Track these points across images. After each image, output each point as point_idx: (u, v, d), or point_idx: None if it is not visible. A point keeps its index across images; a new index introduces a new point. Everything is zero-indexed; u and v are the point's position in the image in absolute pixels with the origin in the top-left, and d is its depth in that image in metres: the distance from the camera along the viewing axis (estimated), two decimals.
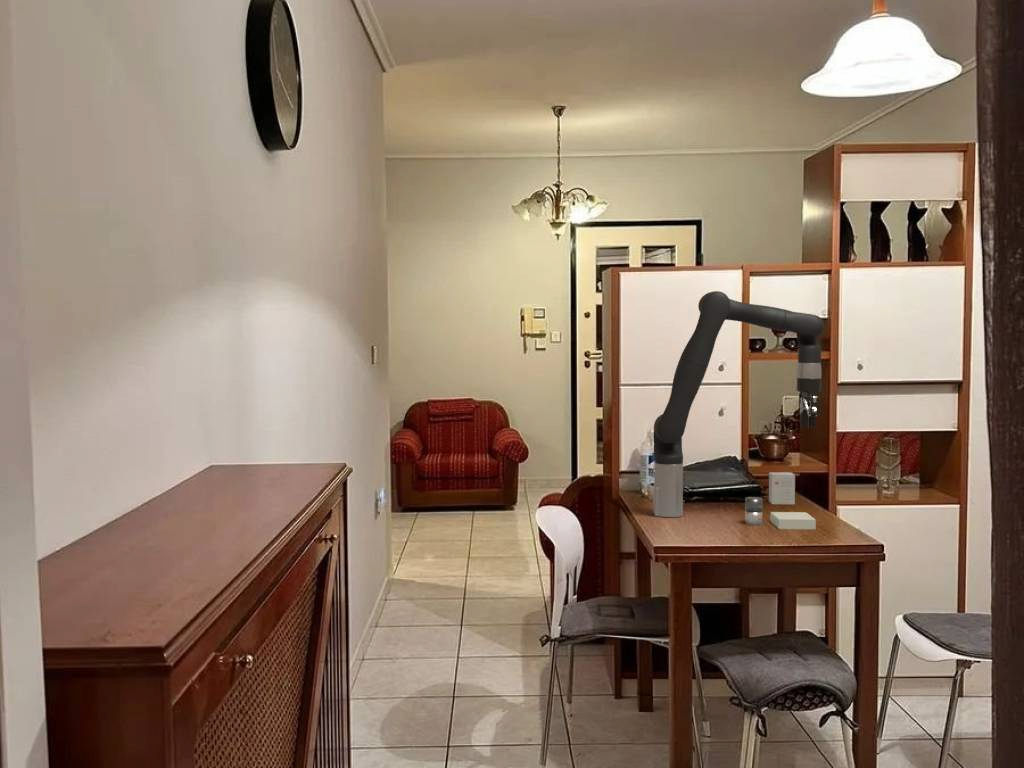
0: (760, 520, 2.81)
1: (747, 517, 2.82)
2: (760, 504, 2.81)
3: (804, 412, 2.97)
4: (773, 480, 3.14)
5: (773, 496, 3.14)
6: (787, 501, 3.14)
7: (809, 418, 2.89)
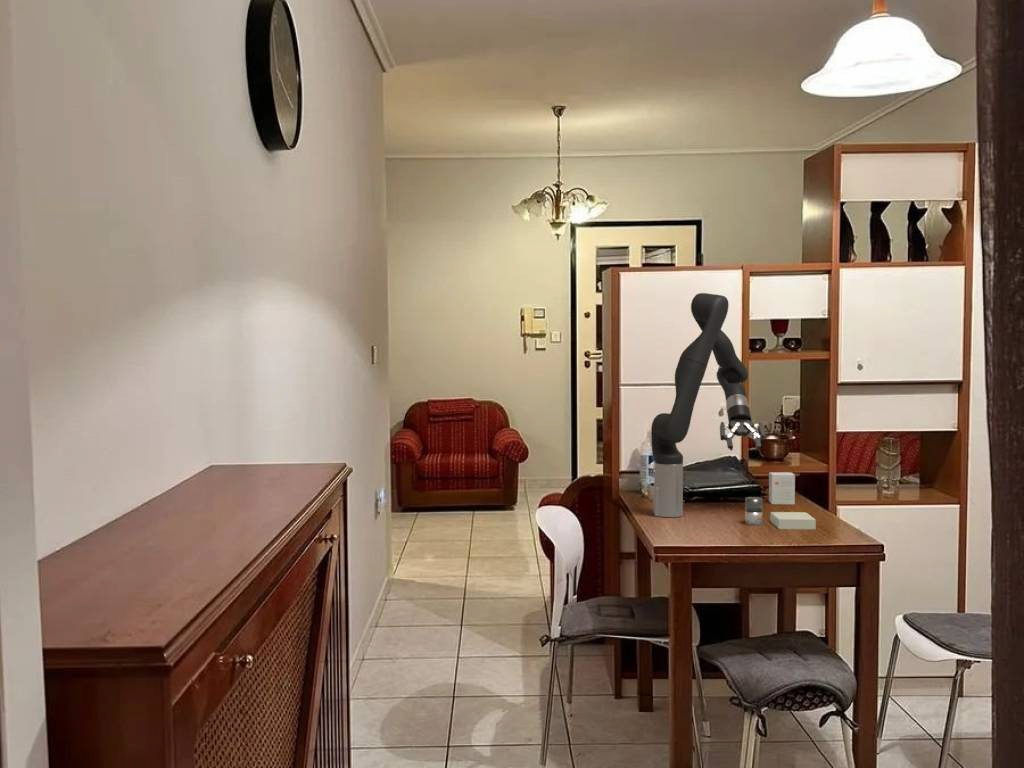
0: (760, 520, 2.81)
1: (747, 517, 2.82)
2: (760, 504, 2.81)
3: None
4: (773, 480, 3.14)
5: (773, 496, 3.14)
6: (787, 501, 3.14)
7: (758, 439, 2.98)
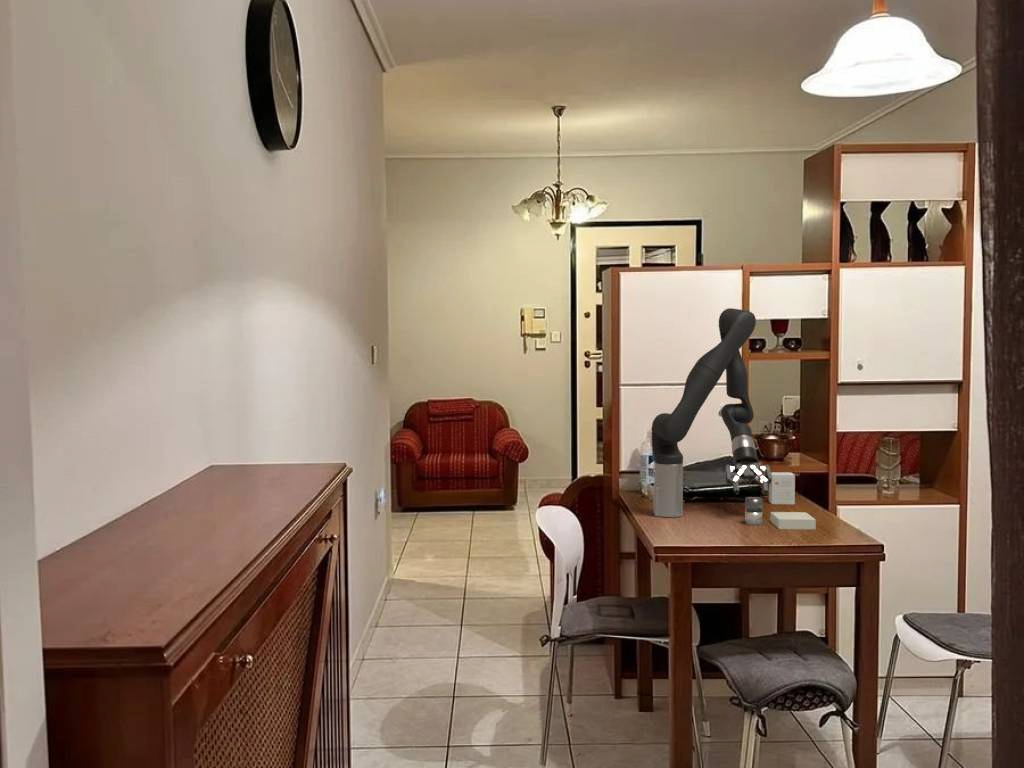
0: (760, 520, 2.81)
1: (747, 517, 2.82)
2: (760, 504, 2.81)
3: None
4: (773, 480, 3.14)
5: (773, 496, 3.14)
6: (787, 501, 3.14)
7: (765, 483, 2.88)
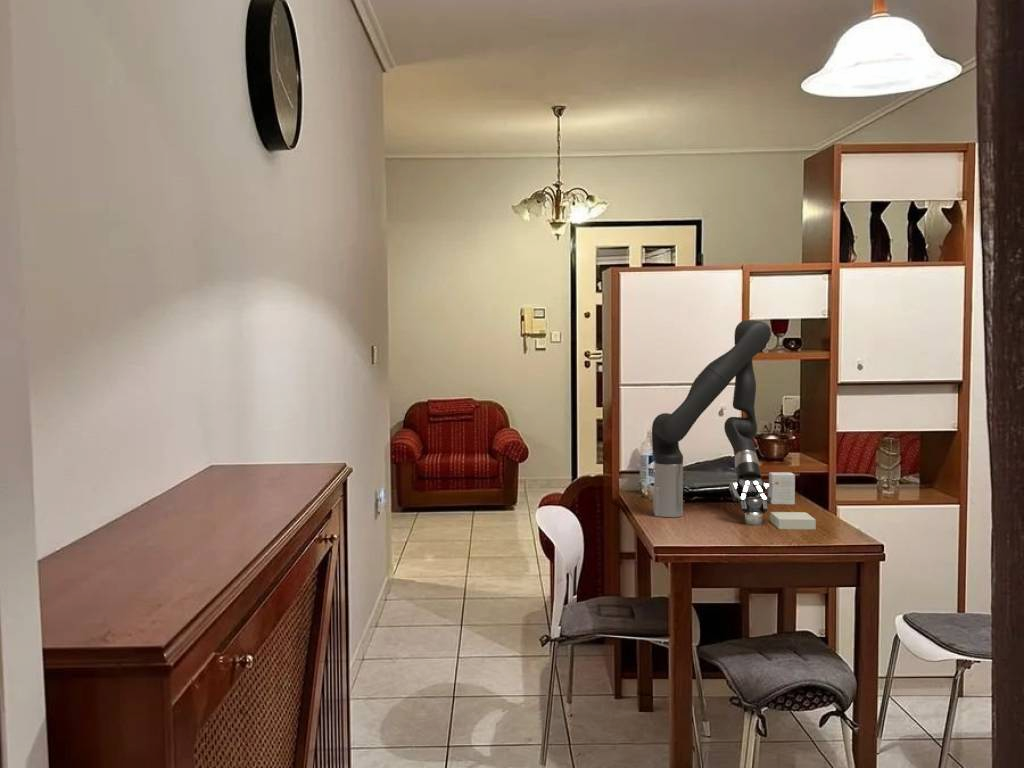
0: (760, 520, 2.81)
1: (747, 517, 2.82)
2: (760, 504, 2.81)
3: None
4: (773, 480, 3.14)
5: (773, 496, 3.14)
6: (787, 501, 3.14)
7: (764, 501, 2.83)
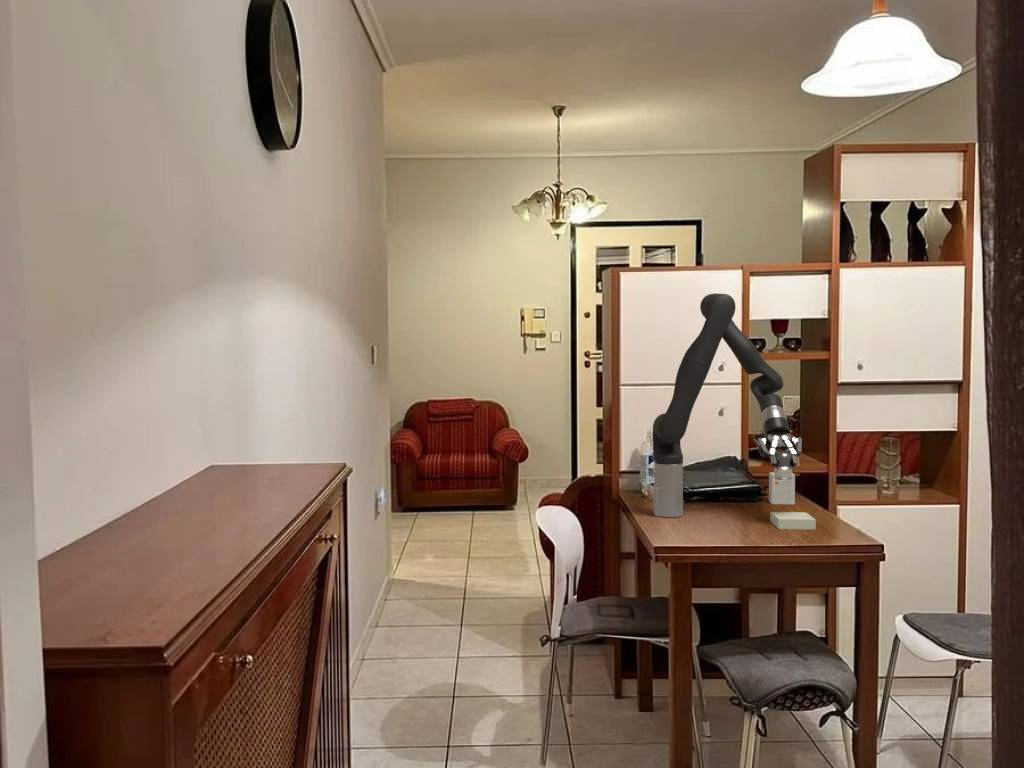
0: (790, 474, 2.79)
1: (777, 472, 2.80)
2: (790, 458, 2.79)
3: None
4: (773, 480, 3.14)
5: (773, 496, 3.14)
6: (787, 501, 3.14)
7: (794, 456, 2.80)
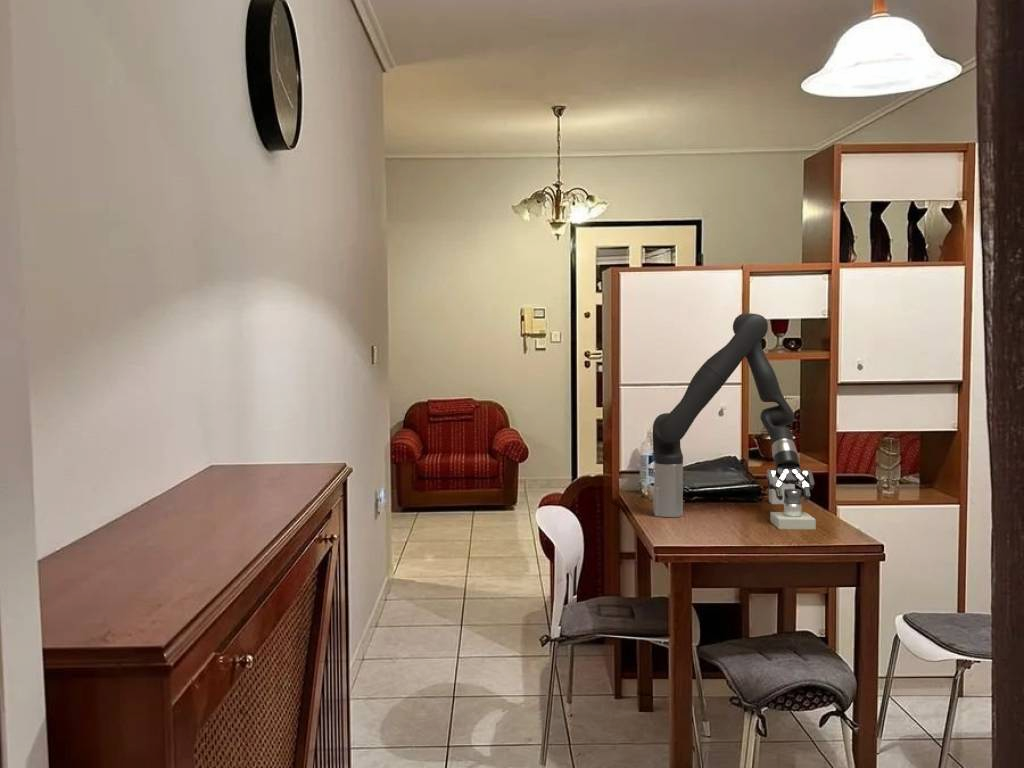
0: (799, 512, 2.79)
1: (786, 509, 2.79)
2: (799, 496, 2.78)
3: None
4: (773, 480, 3.14)
5: (773, 496, 3.14)
6: None
7: (807, 489, 2.80)
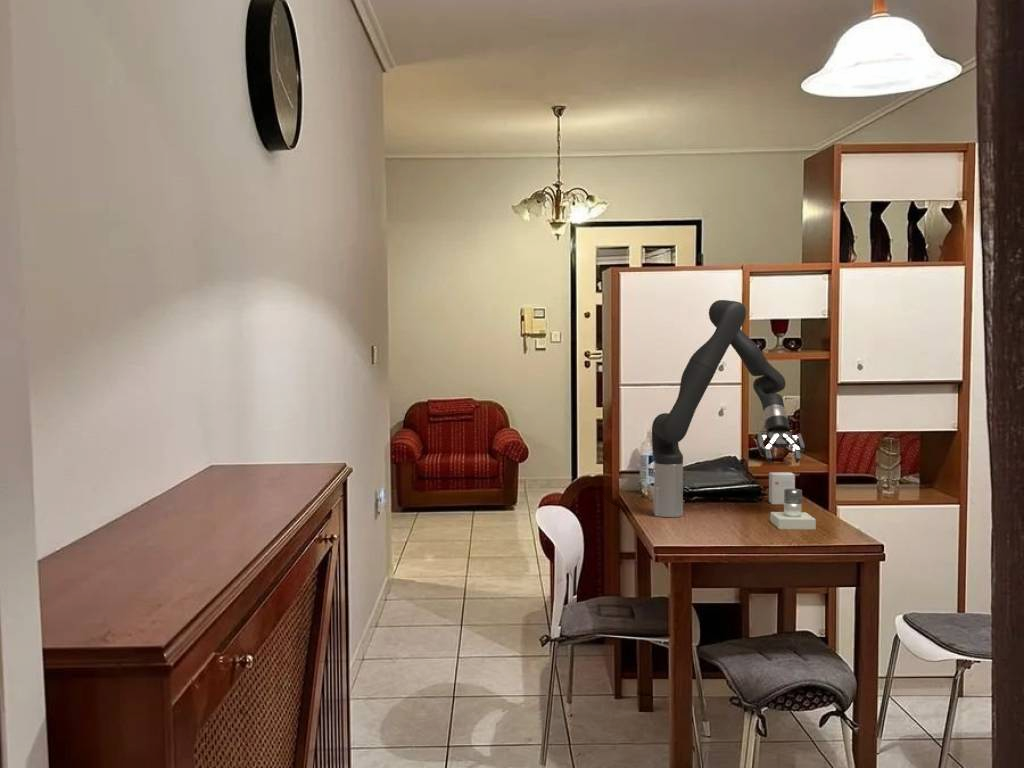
0: (799, 512, 2.79)
1: (786, 508, 2.80)
2: (799, 495, 2.78)
3: None
4: (773, 480, 3.14)
5: (773, 496, 3.14)
6: None
7: (797, 451, 2.90)
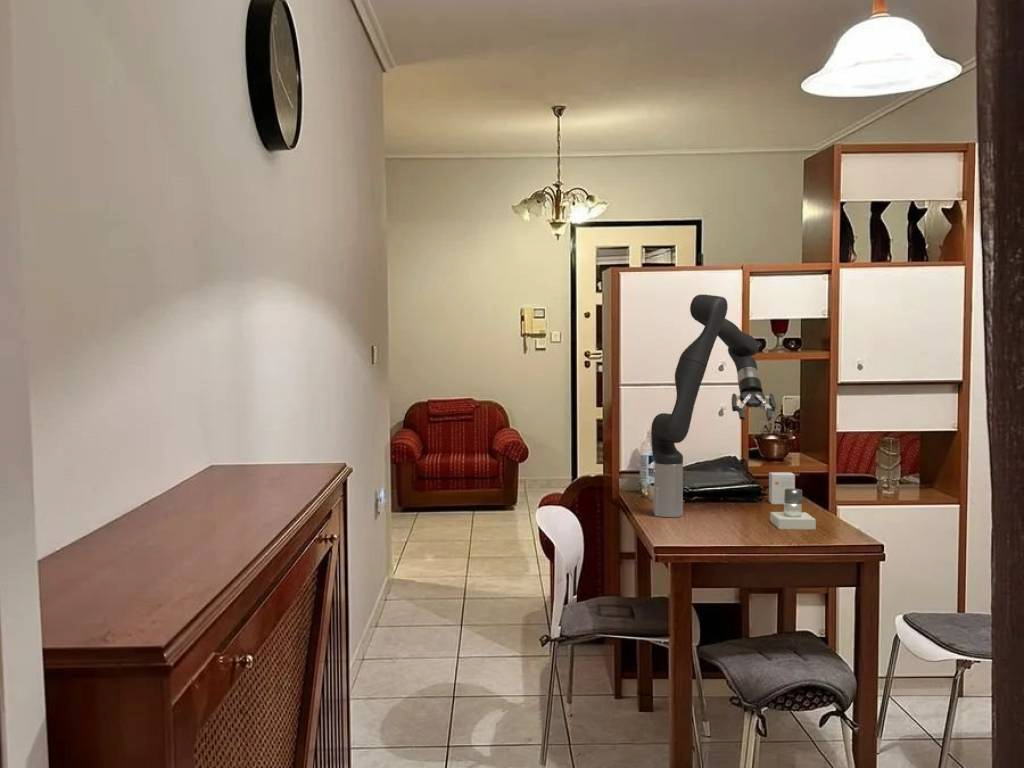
0: (799, 512, 2.79)
1: (786, 508, 2.80)
2: (799, 495, 2.78)
3: None
4: (773, 480, 3.14)
5: (773, 496, 3.14)
6: None
7: (769, 410, 3.04)
